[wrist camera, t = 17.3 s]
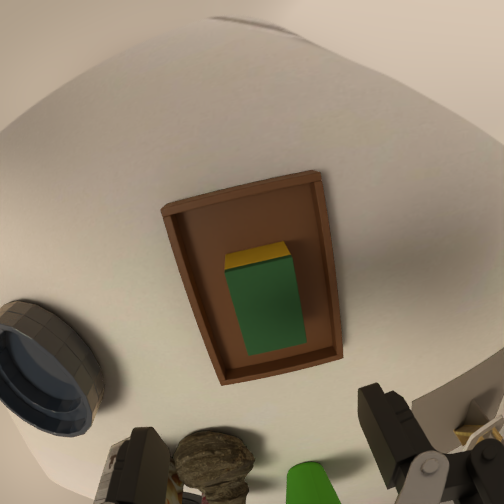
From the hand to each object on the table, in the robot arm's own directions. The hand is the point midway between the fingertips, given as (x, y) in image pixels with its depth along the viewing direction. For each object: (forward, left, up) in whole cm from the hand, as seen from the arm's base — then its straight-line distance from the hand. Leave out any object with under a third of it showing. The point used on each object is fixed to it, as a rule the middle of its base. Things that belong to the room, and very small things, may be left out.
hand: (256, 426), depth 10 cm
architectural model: (+34, +28, -15) cm, 47 cm away
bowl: (+5, -24, -15) cm, 29 cm away
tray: (+1, +1, -15) cm, 15 cm away
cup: (+32, +1, -15) cm, 36 cm away
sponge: (+1, +1, -15) cm, 15 cm away
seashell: (+20, -9, -15) cm, 27 cm away
